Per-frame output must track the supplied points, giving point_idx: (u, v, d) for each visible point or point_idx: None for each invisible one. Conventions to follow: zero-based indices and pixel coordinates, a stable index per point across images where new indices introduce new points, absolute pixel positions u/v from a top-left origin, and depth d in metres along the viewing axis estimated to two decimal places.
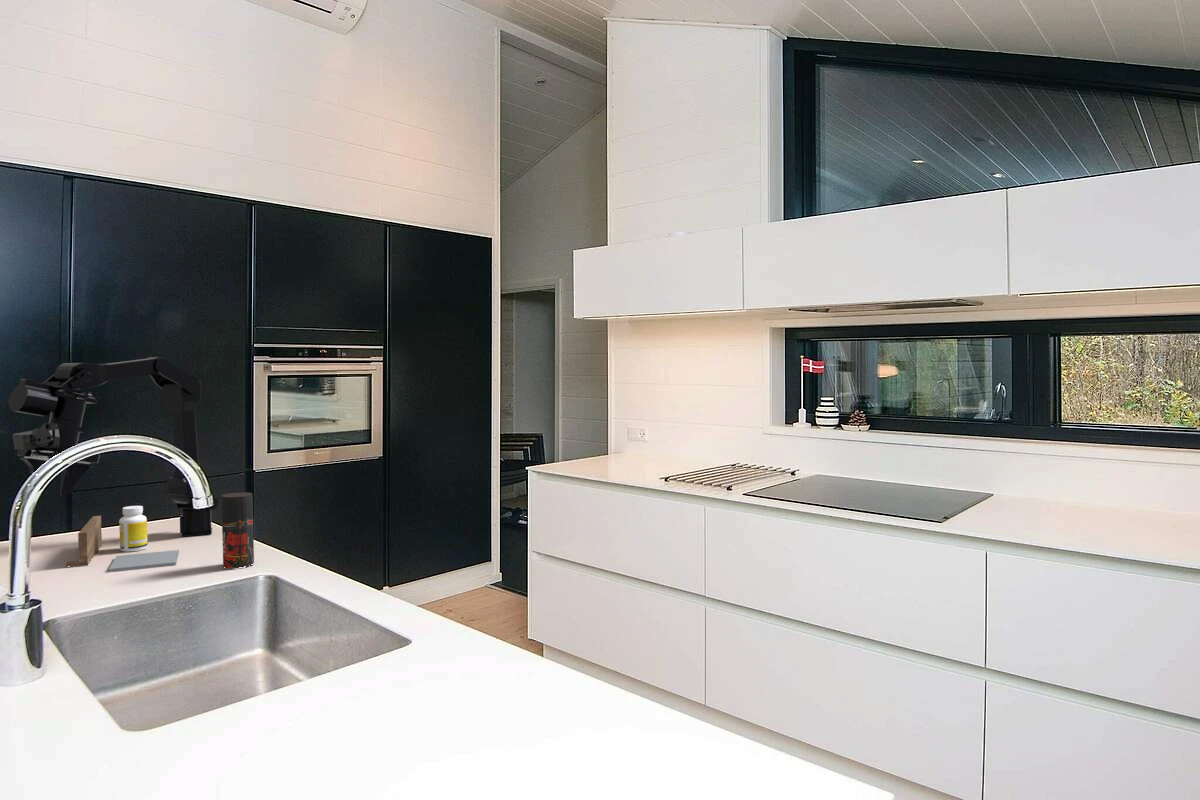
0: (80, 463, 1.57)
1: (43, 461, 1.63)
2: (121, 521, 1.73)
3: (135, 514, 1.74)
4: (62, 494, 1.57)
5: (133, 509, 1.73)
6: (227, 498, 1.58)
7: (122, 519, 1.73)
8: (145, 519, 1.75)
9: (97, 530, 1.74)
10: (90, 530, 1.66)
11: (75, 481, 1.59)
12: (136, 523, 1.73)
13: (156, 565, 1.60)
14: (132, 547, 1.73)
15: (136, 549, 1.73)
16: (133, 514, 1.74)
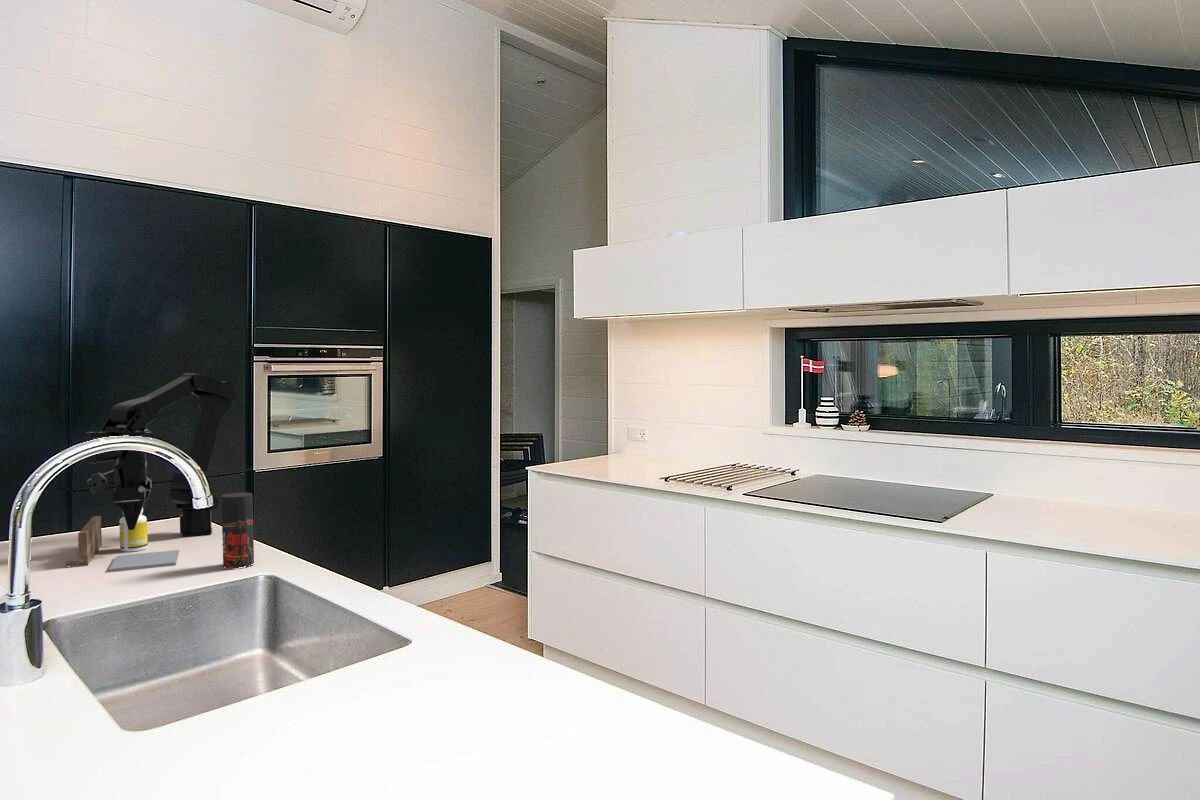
0: (128, 502, 1.68)
1: None
2: (121, 521, 1.73)
3: None
4: (129, 529, 1.71)
5: None
6: (227, 498, 1.58)
7: (122, 519, 1.73)
8: (145, 519, 1.75)
9: (97, 530, 1.74)
10: (90, 530, 1.66)
11: (136, 516, 1.70)
12: None
13: (156, 565, 1.60)
14: (132, 547, 1.73)
15: (136, 549, 1.73)
16: None
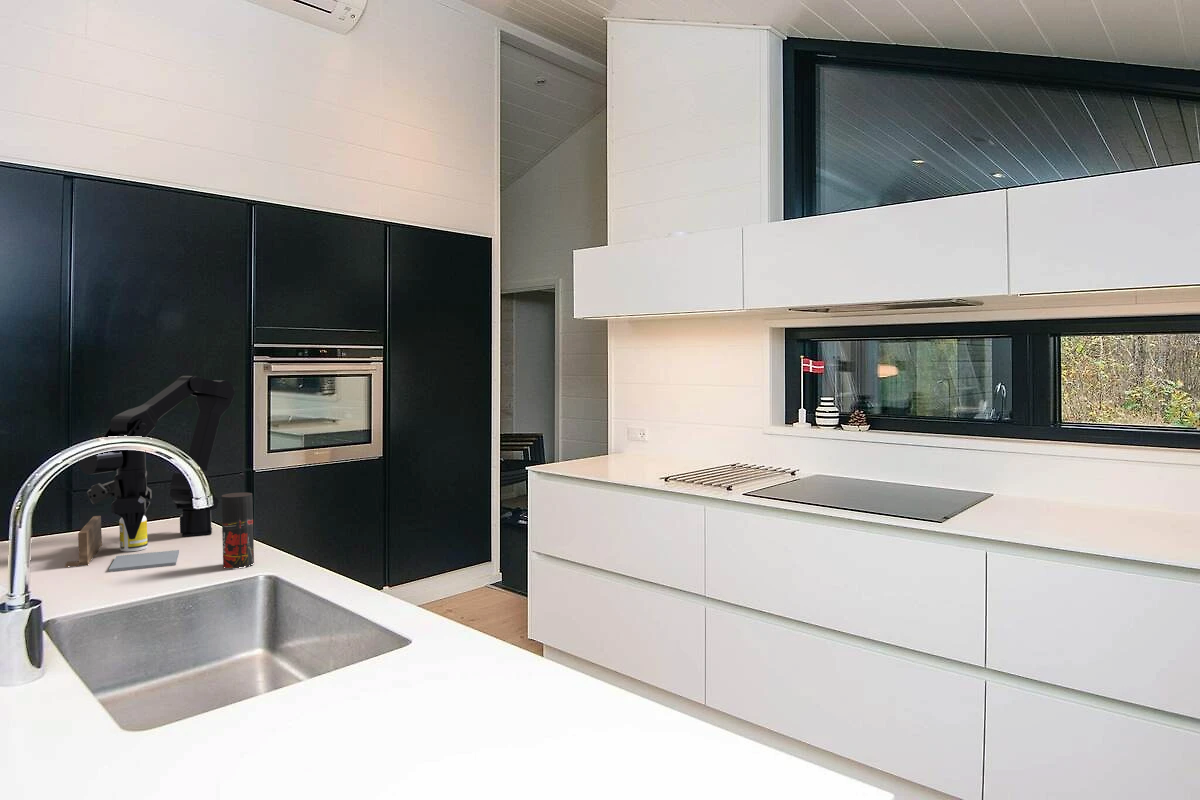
0: (129, 511, 1.69)
1: None
2: (121, 521, 1.73)
3: None
4: (130, 538, 1.72)
5: None
6: (227, 498, 1.58)
7: (122, 519, 1.73)
8: (145, 519, 1.75)
9: (97, 530, 1.74)
10: (90, 530, 1.66)
11: (137, 525, 1.72)
12: None
13: (156, 565, 1.60)
14: (132, 547, 1.73)
15: (136, 549, 1.73)
16: None
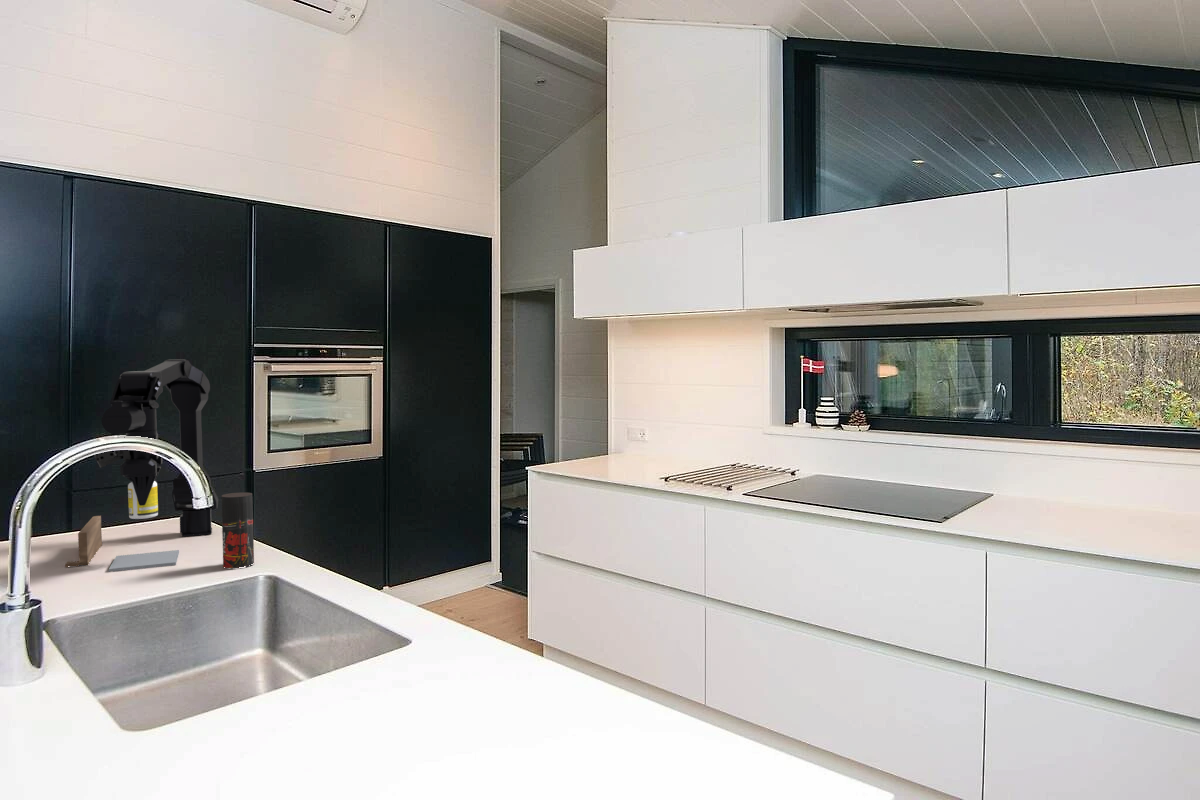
0: (139, 475, 1.58)
1: None
2: (130, 486, 1.61)
3: None
4: (140, 504, 1.61)
5: None
6: (227, 498, 1.58)
7: (131, 484, 1.61)
8: (155, 484, 1.64)
9: (97, 530, 1.74)
10: (90, 530, 1.66)
11: (147, 490, 1.60)
12: None
13: (156, 565, 1.60)
14: (142, 514, 1.61)
15: (146, 516, 1.62)
16: None
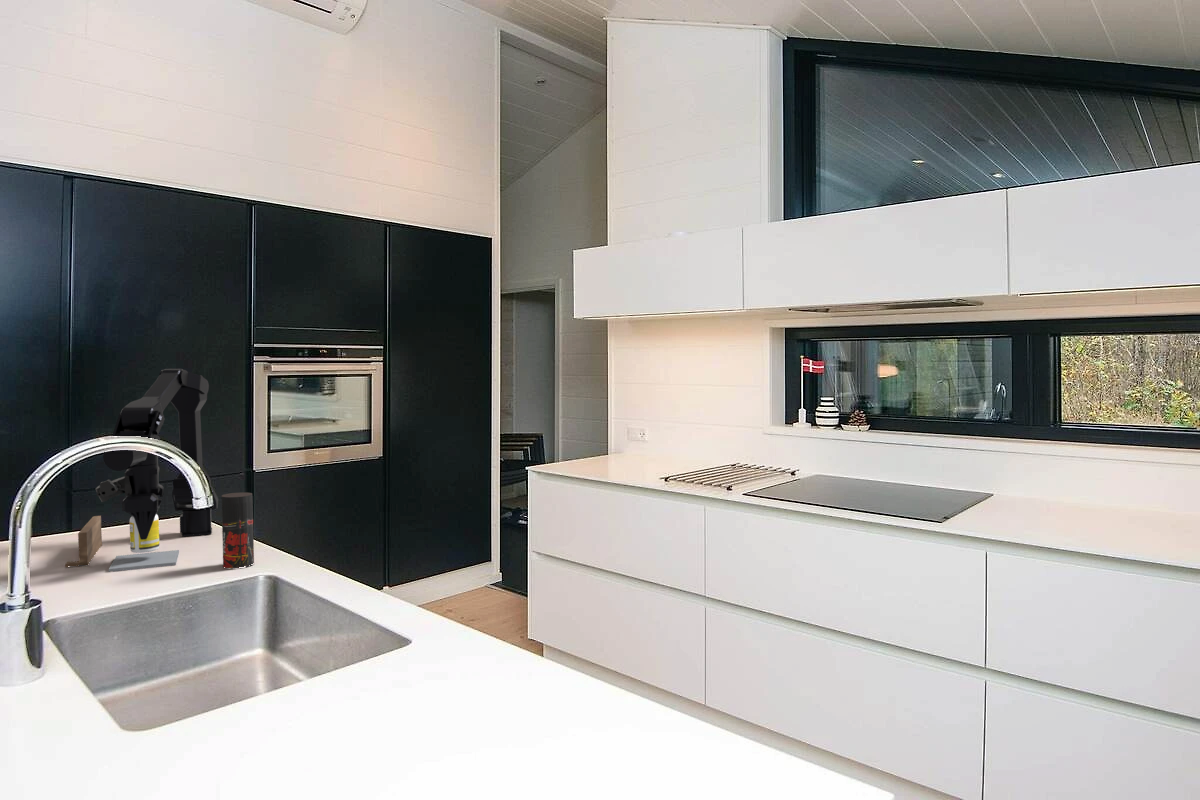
0: (141, 509, 1.58)
1: None
2: (131, 520, 1.62)
3: None
4: (142, 538, 1.61)
5: None
6: (227, 498, 1.58)
7: (132, 518, 1.62)
8: (157, 518, 1.64)
9: (97, 530, 1.74)
10: (90, 530, 1.66)
11: (149, 525, 1.61)
12: None
13: (156, 565, 1.60)
14: (143, 548, 1.62)
15: (147, 550, 1.62)
16: None
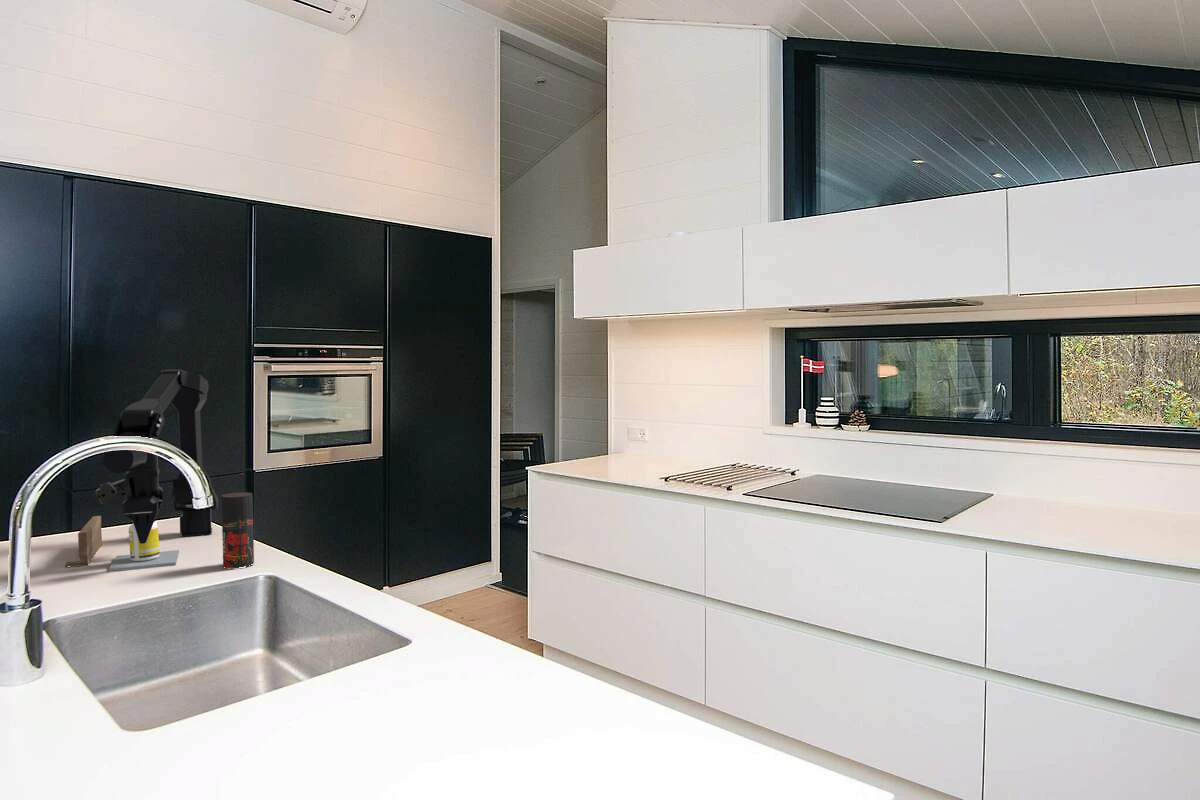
0: (140, 513, 1.57)
1: None
2: (131, 529, 1.62)
3: None
4: (141, 542, 1.60)
5: None
6: (227, 498, 1.58)
7: (132, 527, 1.62)
8: (156, 526, 1.64)
9: (97, 530, 1.74)
10: (90, 530, 1.66)
11: (148, 529, 1.59)
12: None
13: (156, 565, 1.60)
14: (143, 556, 1.62)
15: (147, 558, 1.62)
16: None
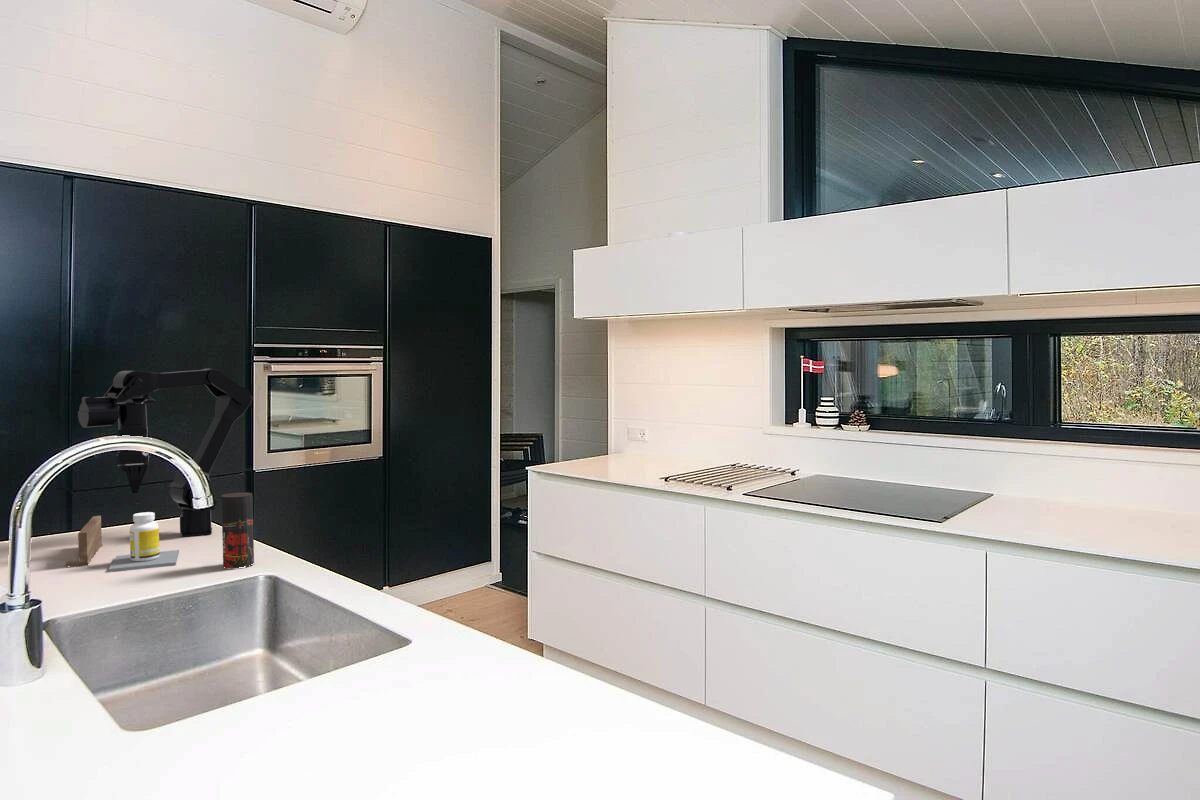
0: (132, 465, 1.72)
1: None
2: (132, 529, 1.62)
3: (146, 521, 1.63)
4: (133, 492, 1.75)
5: (144, 516, 1.62)
6: (227, 498, 1.58)
7: (133, 527, 1.62)
8: (157, 526, 1.64)
9: (97, 530, 1.74)
10: (90, 530, 1.66)
11: (140, 480, 1.75)
12: (147, 531, 1.62)
13: (156, 565, 1.60)
14: (144, 557, 1.62)
15: (148, 559, 1.62)
16: (144, 521, 1.62)
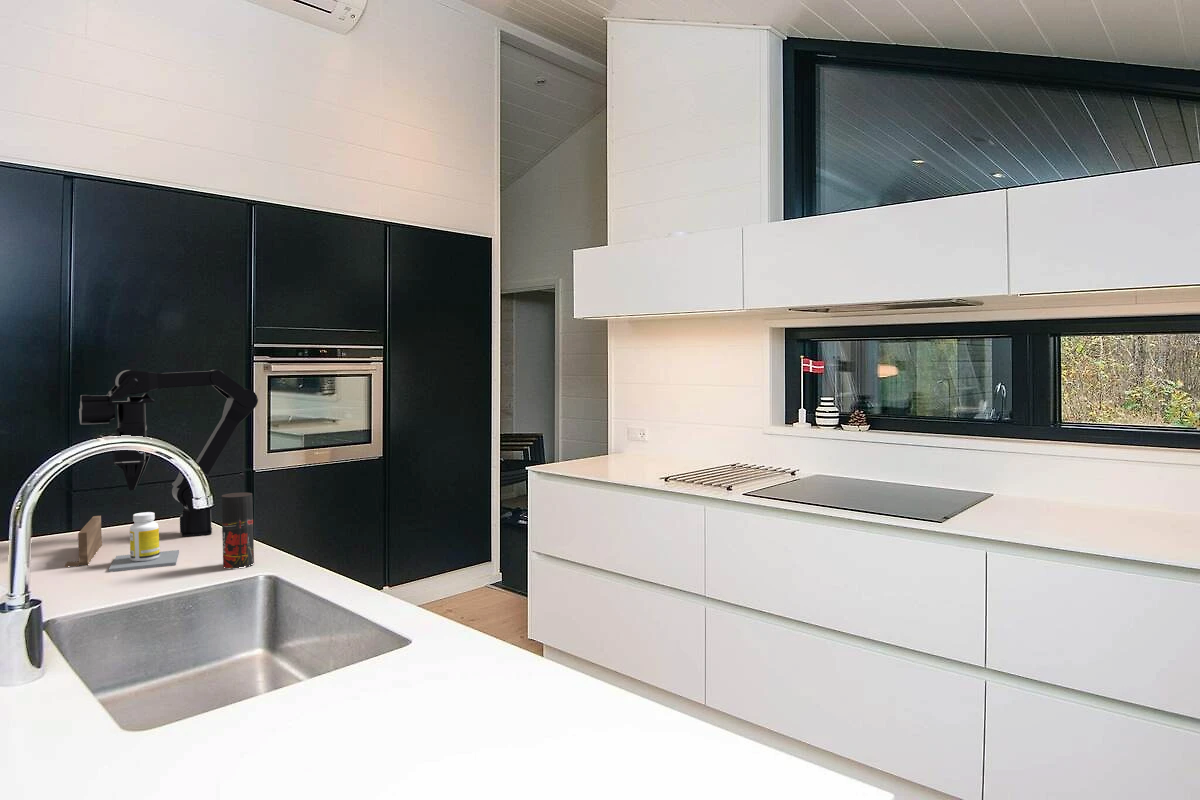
0: (129, 463, 1.75)
1: None
2: (132, 529, 1.62)
3: (146, 521, 1.63)
4: (130, 489, 1.78)
5: (144, 516, 1.62)
6: (227, 498, 1.58)
7: (133, 527, 1.62)
8: (157, 526, 1.64)
9: (97, 530, 1.74)
10: (90, 530, 1.66)
11: (136, 477, 1.78)
12: (147, 531, 1.62)
13: (156, 565, 1.60)
14: (144, 557, 1.62)
15: (148, 559, 1.62)
16: (144, 521, 1.62)
